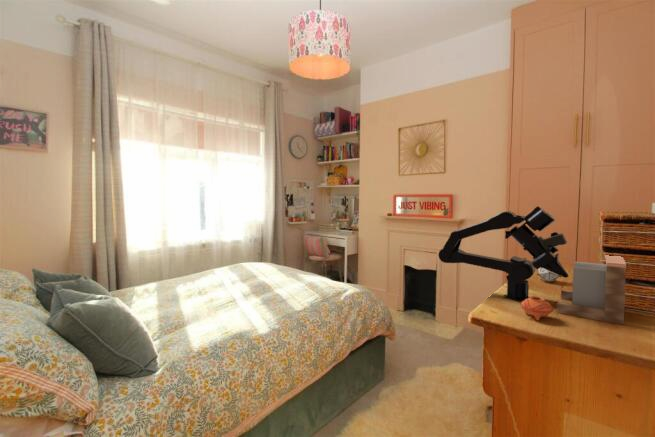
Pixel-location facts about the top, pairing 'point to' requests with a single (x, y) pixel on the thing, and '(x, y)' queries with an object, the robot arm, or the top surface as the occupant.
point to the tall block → (589, 285)
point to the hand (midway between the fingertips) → (567, 276)
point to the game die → (547, 275)
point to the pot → (536, 307)
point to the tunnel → (612, 295)
